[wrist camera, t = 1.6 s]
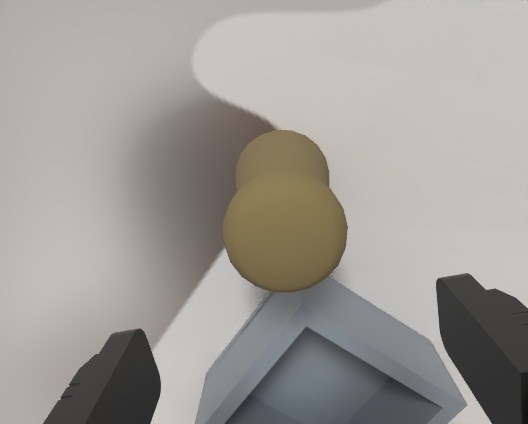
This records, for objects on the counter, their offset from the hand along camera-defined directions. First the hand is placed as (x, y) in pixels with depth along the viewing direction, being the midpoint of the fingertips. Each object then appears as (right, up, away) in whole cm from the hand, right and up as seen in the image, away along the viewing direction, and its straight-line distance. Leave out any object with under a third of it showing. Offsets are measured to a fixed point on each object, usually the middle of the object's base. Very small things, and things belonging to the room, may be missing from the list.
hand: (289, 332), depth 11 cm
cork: (0, +5, +15) cm, 16 cm away
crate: (+3, -8, +19) cm, 21 cm away
